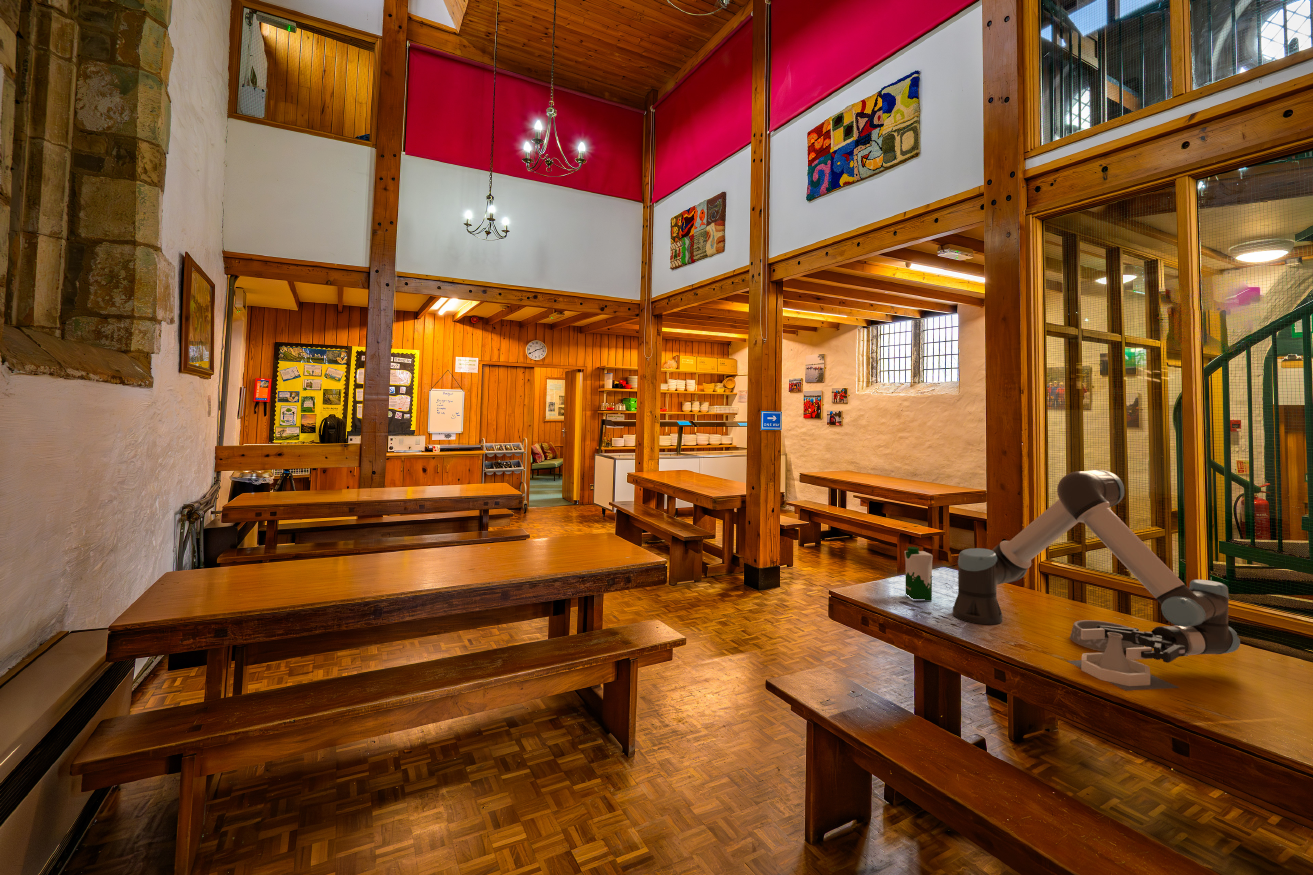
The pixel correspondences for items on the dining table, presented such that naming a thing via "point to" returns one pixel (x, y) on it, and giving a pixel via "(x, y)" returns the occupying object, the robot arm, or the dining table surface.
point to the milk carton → (918, 573)
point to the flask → (1114, 655)
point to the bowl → (1135, 678)
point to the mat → (1154, 684)
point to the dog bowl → (1096, 643)
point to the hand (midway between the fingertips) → (1103, 643)
